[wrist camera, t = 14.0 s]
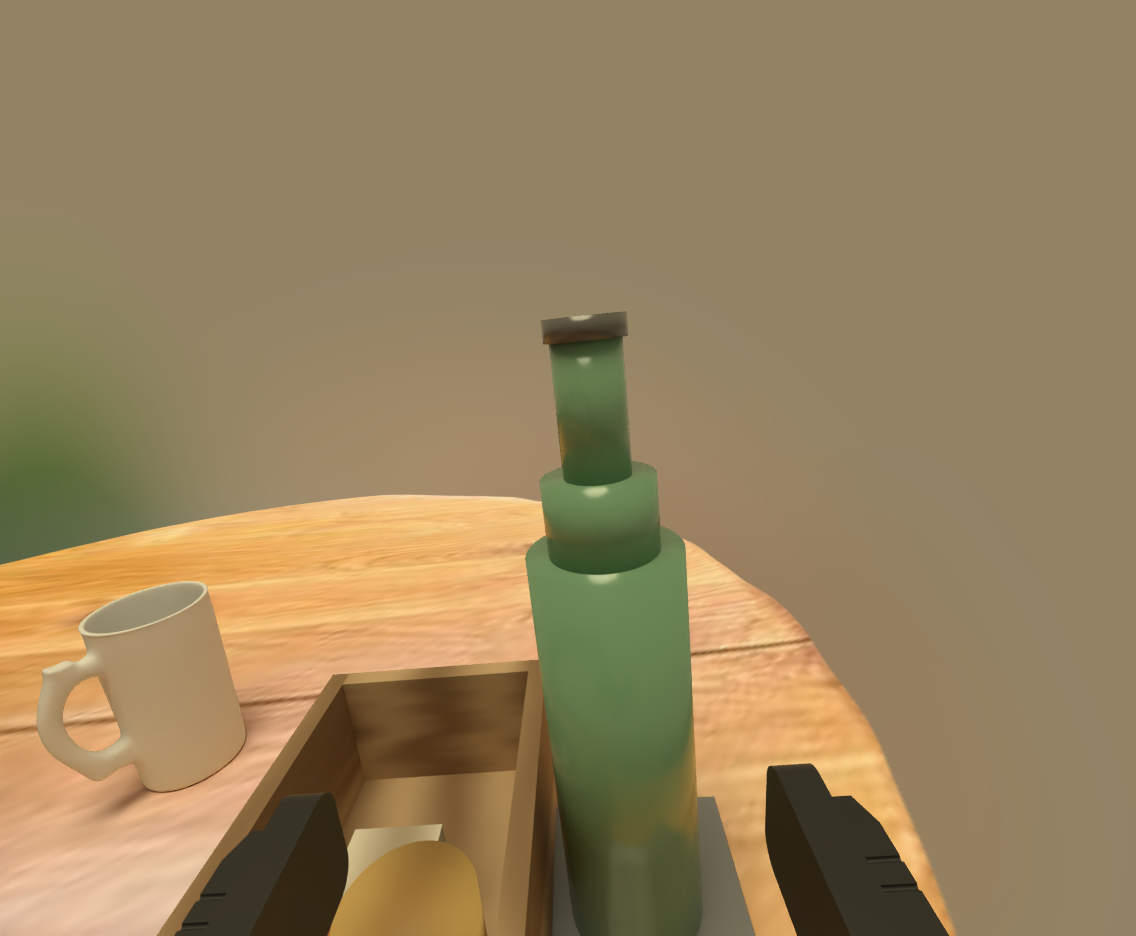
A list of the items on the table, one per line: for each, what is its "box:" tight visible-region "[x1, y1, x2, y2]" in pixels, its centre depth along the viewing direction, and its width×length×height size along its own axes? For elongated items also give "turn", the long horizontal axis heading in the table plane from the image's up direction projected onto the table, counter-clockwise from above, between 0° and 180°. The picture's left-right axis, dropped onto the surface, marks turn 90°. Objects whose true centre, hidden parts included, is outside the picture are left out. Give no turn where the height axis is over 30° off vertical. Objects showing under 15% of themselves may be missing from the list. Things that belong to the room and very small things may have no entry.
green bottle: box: [525, 312, 702, 936], centre depth 22 cm, size 6×6×27 cm
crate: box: [157, 660, 558, 936], centre depth 23 cm, size 13×20×9 cm, turn 0°
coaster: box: [552, 797, 755, 936], centre depth 26 cm, size 10×10×1 cm
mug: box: [37, 581, 246, 792], centre depth 35 cm, size 10×7×12 cm, turn 153°
